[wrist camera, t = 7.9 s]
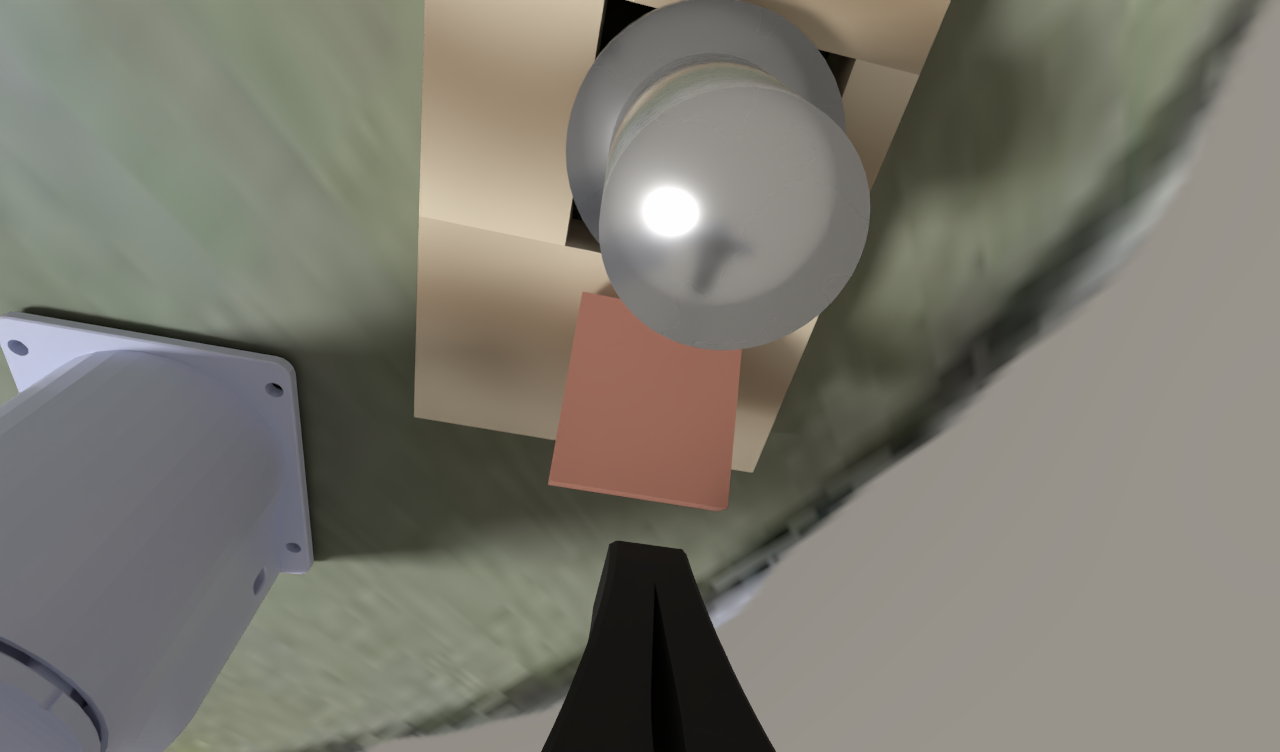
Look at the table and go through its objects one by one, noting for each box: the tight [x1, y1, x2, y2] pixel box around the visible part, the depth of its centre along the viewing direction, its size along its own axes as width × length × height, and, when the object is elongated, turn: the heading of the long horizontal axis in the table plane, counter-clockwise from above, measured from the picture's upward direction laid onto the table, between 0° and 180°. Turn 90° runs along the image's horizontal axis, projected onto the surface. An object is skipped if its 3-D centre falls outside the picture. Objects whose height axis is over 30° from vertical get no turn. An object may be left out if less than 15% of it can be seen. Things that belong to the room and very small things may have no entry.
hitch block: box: [414, 0, 951, 473], centre depth 15 cm, size 13×10×2 cm
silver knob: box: [566, 0, 870, 350], centre depth 12 cm, size 6×6×7 cm
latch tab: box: [548, 292, 742, 511], centre depth 15 cm, size 4×4×1 cm
